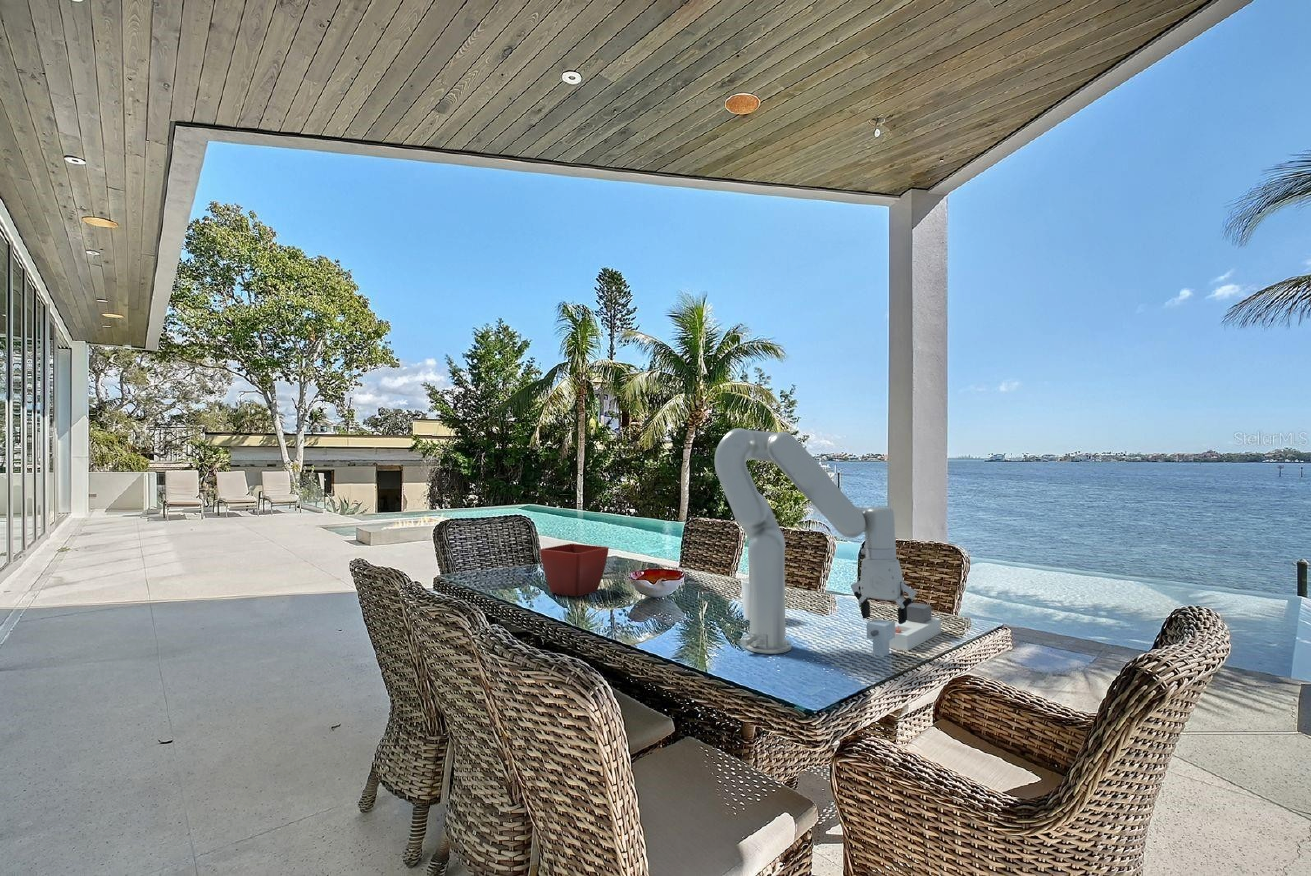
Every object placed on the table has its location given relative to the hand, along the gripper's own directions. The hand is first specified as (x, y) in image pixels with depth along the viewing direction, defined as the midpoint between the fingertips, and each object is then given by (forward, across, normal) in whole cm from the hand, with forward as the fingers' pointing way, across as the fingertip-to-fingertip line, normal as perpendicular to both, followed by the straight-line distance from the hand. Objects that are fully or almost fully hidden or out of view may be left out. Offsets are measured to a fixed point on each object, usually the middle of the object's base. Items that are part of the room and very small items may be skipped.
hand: (884, 620), depth 170 cm
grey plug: (+9, -1, -1) cm, 9 cm away
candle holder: (+8, -46, +8) cm, 47 cm away
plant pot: (+6, -119, -6) cm, 119 cm away
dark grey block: (+9, -1, +24) cm, 26 cm away
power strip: (+9, -1, +18) cm, 21 cm away
